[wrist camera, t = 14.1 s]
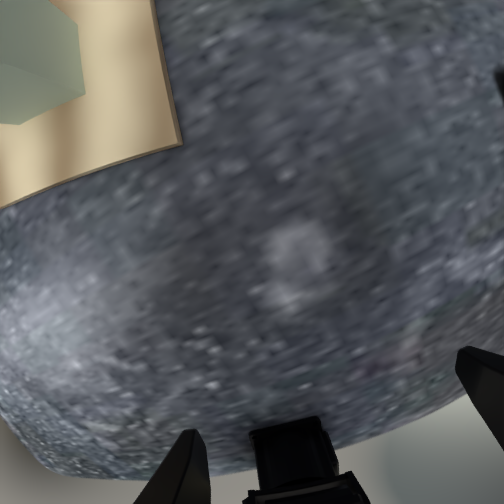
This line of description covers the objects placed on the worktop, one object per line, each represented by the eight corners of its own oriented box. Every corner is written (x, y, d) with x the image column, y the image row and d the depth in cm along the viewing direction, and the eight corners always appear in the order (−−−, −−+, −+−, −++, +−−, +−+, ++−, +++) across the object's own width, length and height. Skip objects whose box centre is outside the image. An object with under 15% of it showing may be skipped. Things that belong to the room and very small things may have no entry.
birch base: (8, 206, 18) (-12, 213, 16) (-12, 44, 14) (-29, 37, 12) (183, 144, 19) (177, 143, 16) (148, -32, 14) (141, -50, 12)
